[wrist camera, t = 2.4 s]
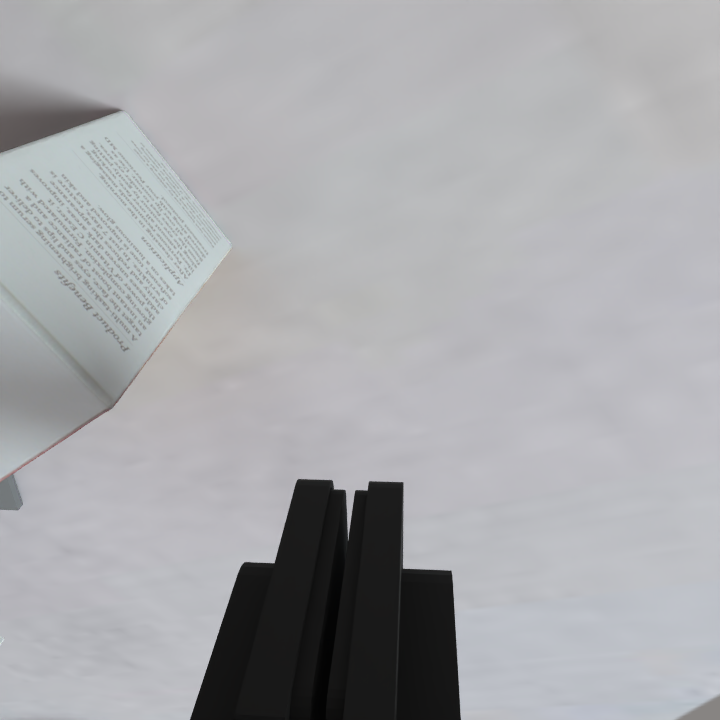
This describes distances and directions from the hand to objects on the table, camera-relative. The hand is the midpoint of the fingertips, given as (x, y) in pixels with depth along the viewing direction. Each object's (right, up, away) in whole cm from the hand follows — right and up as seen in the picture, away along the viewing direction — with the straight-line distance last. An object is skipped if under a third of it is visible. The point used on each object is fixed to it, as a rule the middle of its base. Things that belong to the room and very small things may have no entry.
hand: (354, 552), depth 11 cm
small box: (-9, +7, +13) cm, 17 cm away
